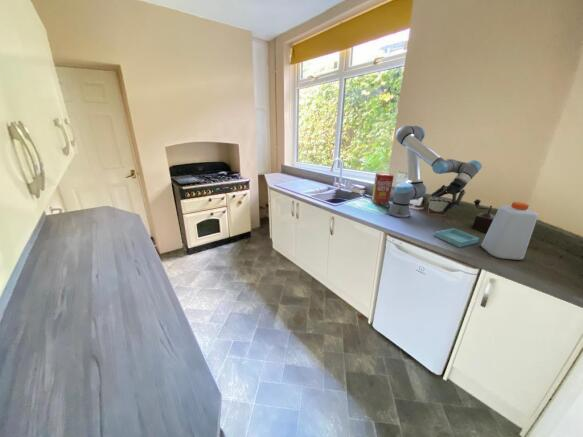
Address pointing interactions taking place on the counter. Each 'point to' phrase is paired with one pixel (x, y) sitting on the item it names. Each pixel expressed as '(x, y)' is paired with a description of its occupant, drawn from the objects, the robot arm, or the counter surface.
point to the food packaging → (382, 188)
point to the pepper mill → (482, 218)
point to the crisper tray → (456, 237)
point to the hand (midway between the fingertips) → (435, 208)
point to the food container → (437, 205)
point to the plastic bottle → (510, 231)
